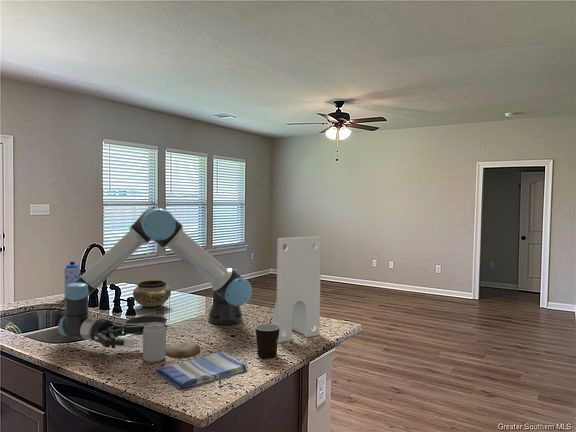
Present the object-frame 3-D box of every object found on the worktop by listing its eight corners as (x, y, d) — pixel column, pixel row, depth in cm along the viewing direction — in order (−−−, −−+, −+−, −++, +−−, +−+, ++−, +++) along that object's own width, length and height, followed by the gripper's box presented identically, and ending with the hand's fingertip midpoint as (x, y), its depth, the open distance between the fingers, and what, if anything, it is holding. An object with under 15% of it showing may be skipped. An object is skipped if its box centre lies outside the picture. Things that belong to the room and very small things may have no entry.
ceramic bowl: (133, 309, 218) (125, 281, 216) (166, 297, 227) (159, 270, 224) (144, 321, 197) (135, 291, 195) (180, 307, 206) (172, 278, 204)
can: (144, 365, 138) (144, 328, 137) (141, 357, 144) (141, 322, 144) (168, 361, 141) (168, 325, 141) (163, 354, 148) (163, 320, 147)
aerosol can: (70, 296, 231) (70, 260, 231) (83, 297, 230) (83, 261, 230) (60, 300, 223) (60, 262, 223) (74, 300, 223) (74, 263, 222)
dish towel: (249, 372, 135) (249, 363, 134) (180, 393, 119) (180, 383, 119) (220, 356, 148) (220, 348, 148) (155, 373, 132) (155, 364, 132)
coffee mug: (270, 361, 142) (270, 332, 142) (249, 356, 146) (250, 328, 146) (288, 351, 152) (289, 324, 151) (268, 347, 156) (269, 320, 156)
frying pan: (165, 319, 191) (165, 311, 191) (175, 341, 161) (175, 331, 161) (122, 323, 184) (122, 315, 184) (125, 347, 154) (125, 337, 154)
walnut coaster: (199, 344, 158) (199, 341, 158) (201, 355, 147) (201, 352, 147) (165, 346, 155) (165, 343, 155) (165, 358, 144) (165, 355, 144)
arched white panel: (299, 325, 184) (301, 234, 183) (319, 334, 172) (321, 236, 171) (259, 332, 173) (260, 235, 172) (277, 342, 161) (278, 238, 160)
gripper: (122, 330, 162) (169, 337, 155) (68, 352, 139) (120, 361, 131) (122, 311, 162) (169, 317, 154) (68, 329, 138) (120, 337, 131)
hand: (147, 337), depth 143 cm, fingers open, 13 cm apart
